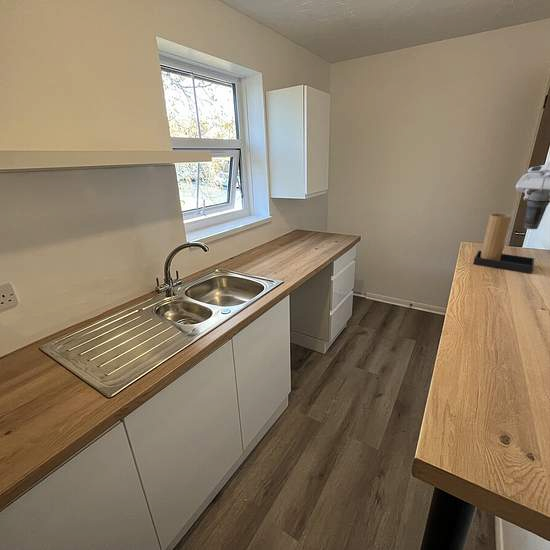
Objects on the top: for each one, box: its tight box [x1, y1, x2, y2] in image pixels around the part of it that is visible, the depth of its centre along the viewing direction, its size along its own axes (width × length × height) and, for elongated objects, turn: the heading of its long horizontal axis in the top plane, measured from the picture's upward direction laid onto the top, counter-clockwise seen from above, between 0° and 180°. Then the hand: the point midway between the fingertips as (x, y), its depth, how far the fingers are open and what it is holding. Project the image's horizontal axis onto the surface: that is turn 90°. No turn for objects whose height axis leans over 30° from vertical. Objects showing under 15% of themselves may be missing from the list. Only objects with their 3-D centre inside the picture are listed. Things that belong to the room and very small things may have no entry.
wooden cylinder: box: [480, 213, 513, 261], centre depth 123 cm, size 7×7×20 cm
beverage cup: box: [523, 179, 550, 230], centre depth 123 cm, size 7×7×20 cm
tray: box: [473, 250, 535, 275], centre depth 123 cm, size 19×11×3 cm, turn 51°
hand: (537, 200), depth 122 cm, fingers closed on beverage cup, 7 cm apart
